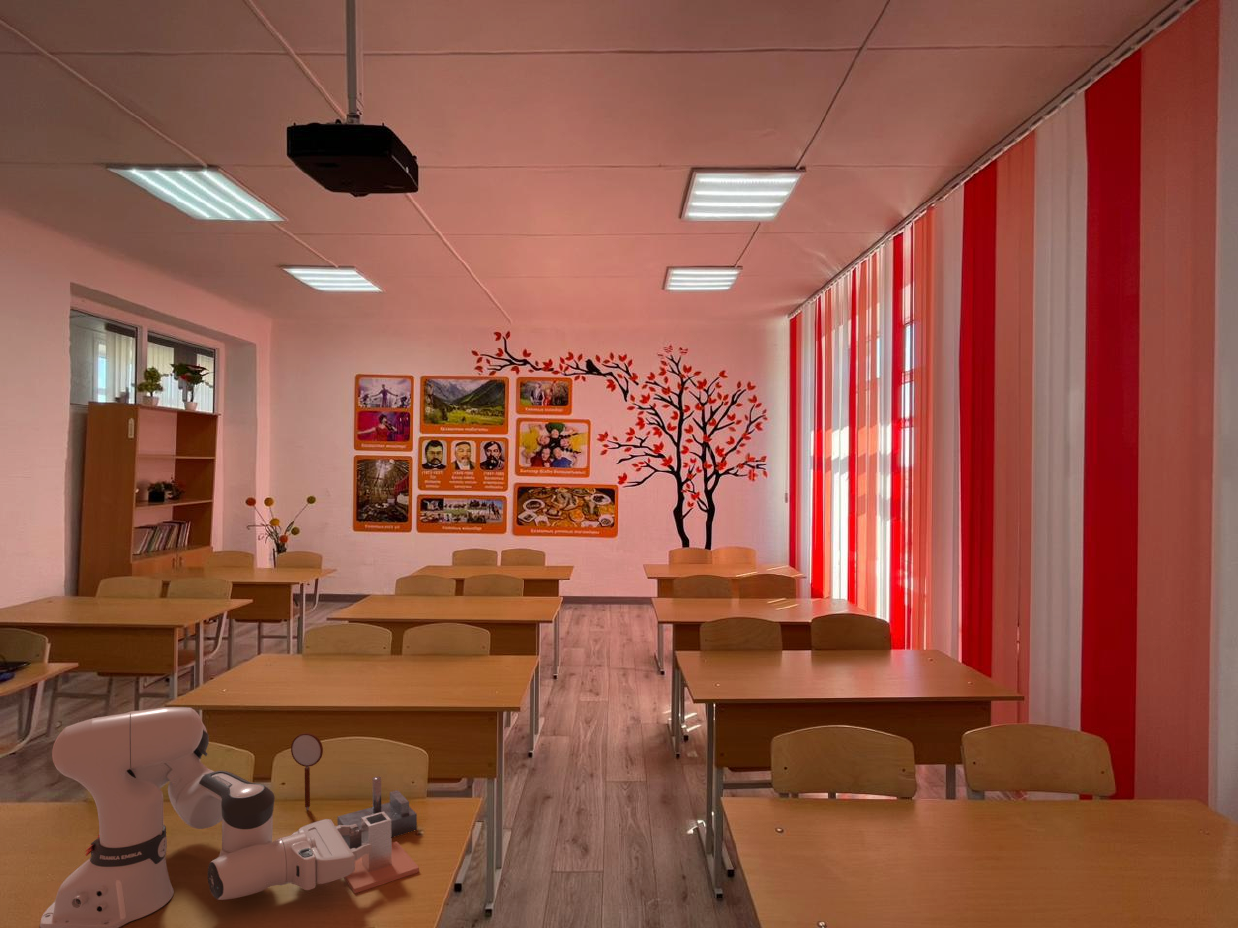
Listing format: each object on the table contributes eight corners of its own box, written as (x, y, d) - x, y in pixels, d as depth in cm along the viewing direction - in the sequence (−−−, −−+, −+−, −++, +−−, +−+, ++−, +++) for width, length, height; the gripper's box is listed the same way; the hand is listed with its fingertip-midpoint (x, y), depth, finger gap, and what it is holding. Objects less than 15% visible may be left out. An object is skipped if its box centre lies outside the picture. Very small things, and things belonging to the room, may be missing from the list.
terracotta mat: (354, 893, 159) (354, 888, 159) (335, 864, 171) (335, 859, 171) (419, 871, 167) (419, 867, 167) (396, 845, 179) (396, 841, 179)
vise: (350, 850, 177) (349, 794, 177) (337, 832, 185) (337, 779, 185) (416, 829, 186) (416, 776, 186) (402, 814, 194) (401, 763, 194)
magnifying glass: (290, 810, 197) (289, 733, 197) (294, 807, 198) (293, 730, 198) (321, 812, 195) (320, 734, 195) (324, 809, 197) (324, 732, 197)
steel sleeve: (369, 872, 166) (368, 826, 165) (361, 862, 170) (361, 817, 170) (391, 864, 169) (391, 819, 168) (384, 855, 173) (383, 811, 172)
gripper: (286, 849, 168) (350, 831, 176) (309, 894, 151) (378, 872, 159) (286, 821, 168) (350, 804, 176) (308, 863, 151) (378, 842, 159)
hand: (364, 837), depth 167 cm, fingers open, 8 cm apart
